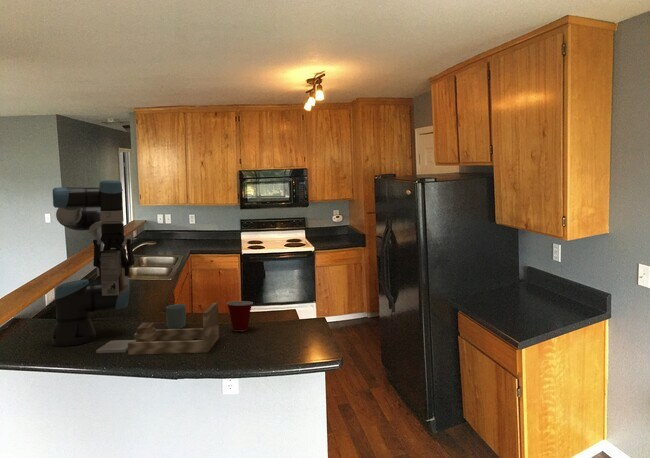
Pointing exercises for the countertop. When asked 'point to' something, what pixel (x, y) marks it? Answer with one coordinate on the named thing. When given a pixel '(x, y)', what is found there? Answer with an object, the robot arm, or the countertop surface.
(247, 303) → the plastic cup
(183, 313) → the cup
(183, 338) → the rack
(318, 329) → the countertop surface
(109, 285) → the coffee box
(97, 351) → the mat
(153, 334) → the offcut stack
